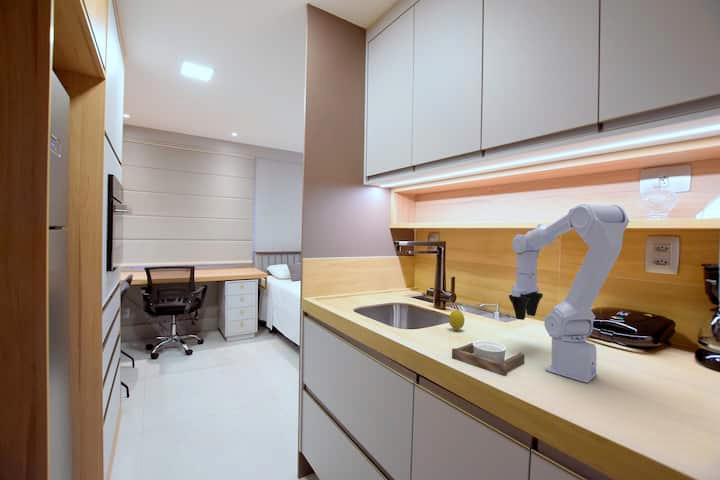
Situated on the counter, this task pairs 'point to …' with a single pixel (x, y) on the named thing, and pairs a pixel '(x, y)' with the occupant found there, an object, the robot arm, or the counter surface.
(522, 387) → the counter surface
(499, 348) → the ramekin
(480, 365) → the walnut rail
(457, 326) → the lemon
